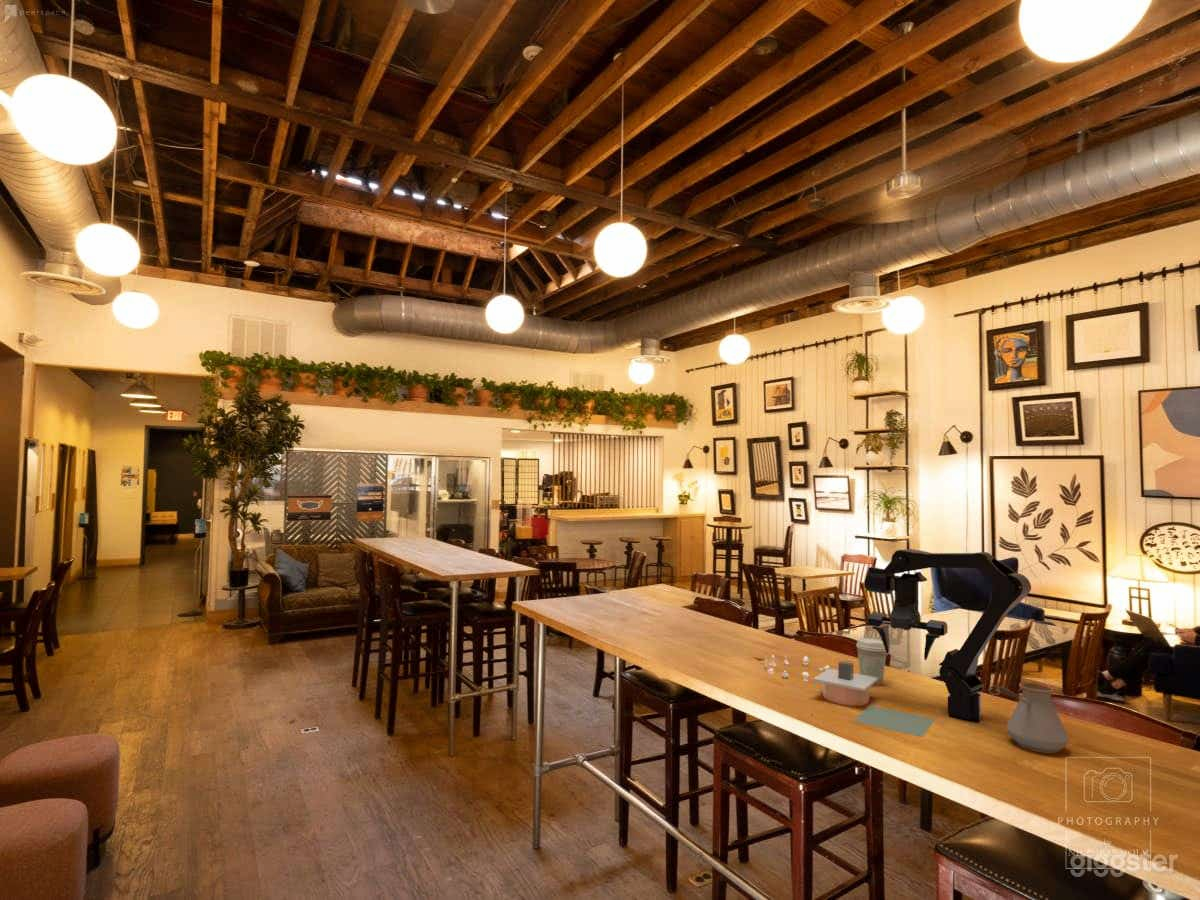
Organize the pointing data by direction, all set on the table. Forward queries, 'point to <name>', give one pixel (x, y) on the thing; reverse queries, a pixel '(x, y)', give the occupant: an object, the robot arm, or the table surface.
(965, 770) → the table surface
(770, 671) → the game piece set
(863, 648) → the coffee cup
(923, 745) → the table surface
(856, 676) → the lid
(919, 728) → the mat
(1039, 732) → the coffee pot
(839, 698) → the pink round tub
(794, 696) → the table surface
